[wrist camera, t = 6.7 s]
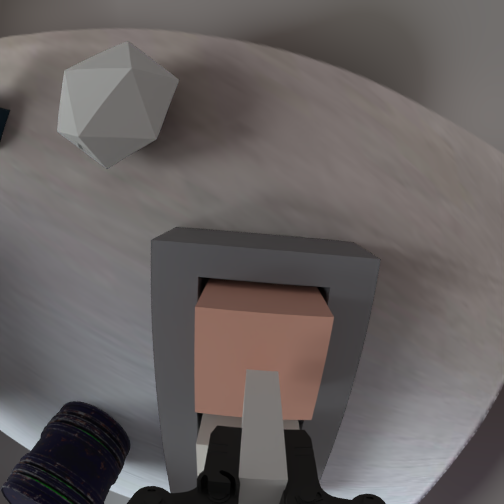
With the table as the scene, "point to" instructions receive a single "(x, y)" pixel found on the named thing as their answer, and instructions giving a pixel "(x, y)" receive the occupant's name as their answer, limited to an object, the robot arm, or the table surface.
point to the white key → (213, 420)
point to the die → (114, 103)
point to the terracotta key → (259, 344)
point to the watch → (3, 119)
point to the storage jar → (70, 459)
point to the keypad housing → (256, 270)
